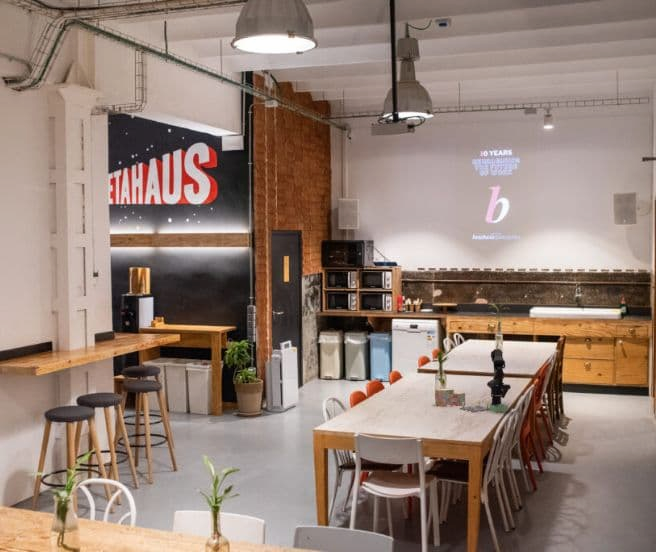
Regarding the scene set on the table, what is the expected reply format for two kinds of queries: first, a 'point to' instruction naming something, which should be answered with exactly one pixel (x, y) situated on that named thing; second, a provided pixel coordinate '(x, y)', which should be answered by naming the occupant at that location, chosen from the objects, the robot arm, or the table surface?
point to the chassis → (475, 407)
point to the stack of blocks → (449, 397)
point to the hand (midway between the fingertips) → (498, 397)
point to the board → (499, 408)
